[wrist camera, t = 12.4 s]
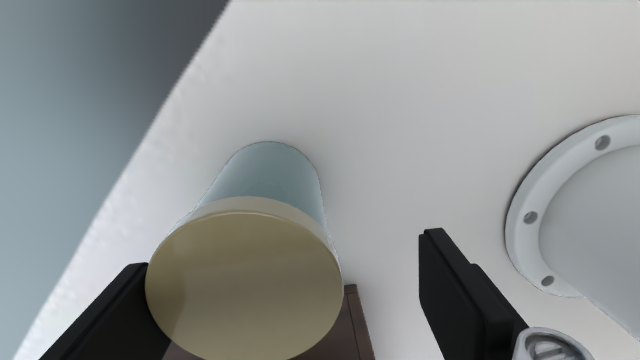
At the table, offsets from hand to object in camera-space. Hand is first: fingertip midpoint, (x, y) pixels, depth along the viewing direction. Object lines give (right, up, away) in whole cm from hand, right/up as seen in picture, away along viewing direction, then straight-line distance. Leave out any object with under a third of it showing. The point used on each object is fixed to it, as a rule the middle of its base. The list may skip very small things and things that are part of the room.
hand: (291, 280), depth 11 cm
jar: (-2, +3, +7) cm, 8 cm away
